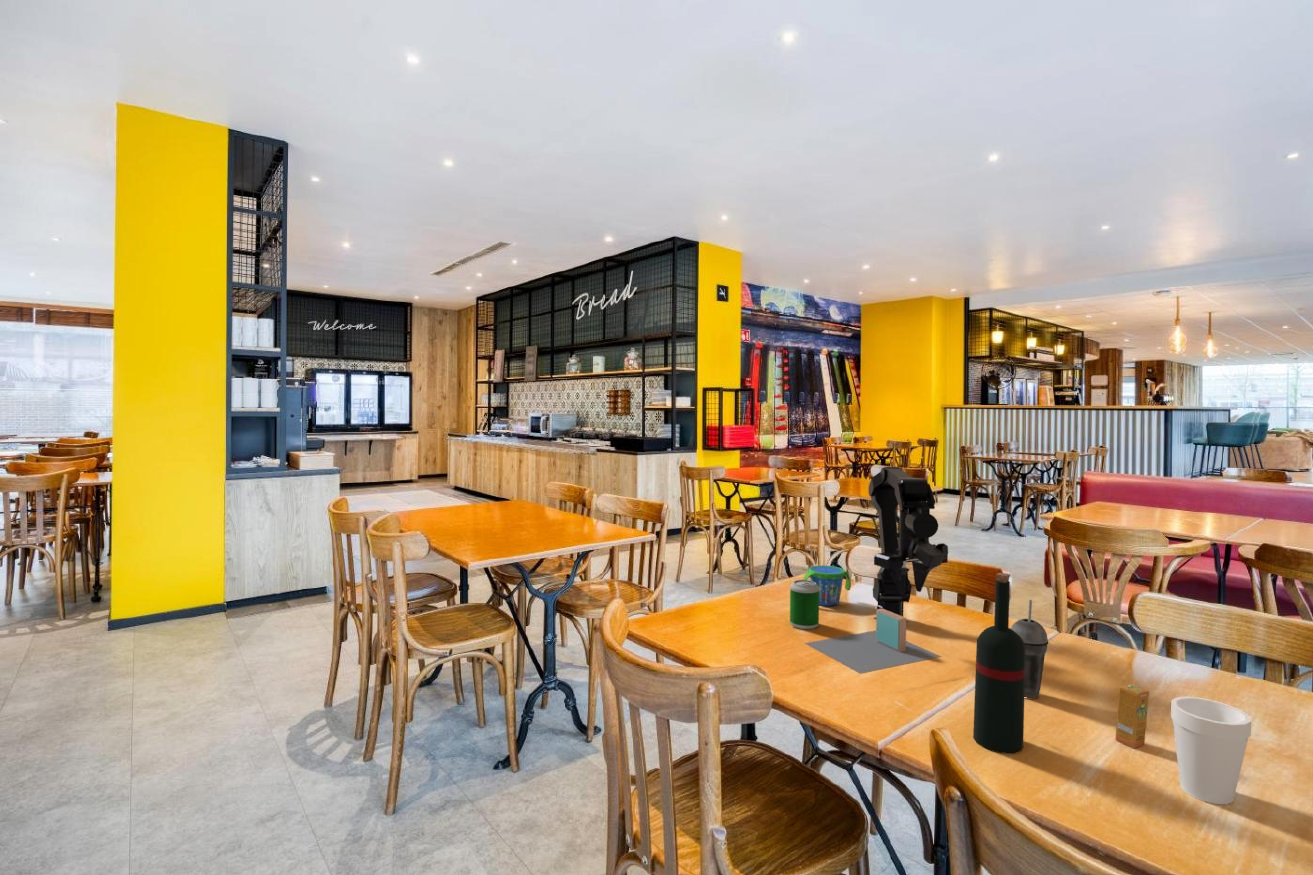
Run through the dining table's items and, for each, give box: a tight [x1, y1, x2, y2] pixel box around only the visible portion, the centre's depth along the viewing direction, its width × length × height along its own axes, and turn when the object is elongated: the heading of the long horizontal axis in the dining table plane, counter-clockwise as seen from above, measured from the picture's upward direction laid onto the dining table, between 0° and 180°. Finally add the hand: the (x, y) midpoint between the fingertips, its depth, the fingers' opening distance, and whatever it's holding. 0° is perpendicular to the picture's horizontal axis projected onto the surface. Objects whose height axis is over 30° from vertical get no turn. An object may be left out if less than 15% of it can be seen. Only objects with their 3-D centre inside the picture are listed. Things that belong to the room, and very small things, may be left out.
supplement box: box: [1115, 683, 1150, 749], centre depth 118 cm, size 3×3×10 cm
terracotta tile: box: [875, 608, 907, 652], centre depth 163 cm, size 2×8×8 cm, turn 24°
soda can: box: [789, 579, 820, 630], centre depth 178 cm, size 8×8×12 cm
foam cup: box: [1170, 696, 1252, 805], centre depth 103 cm, size 10×9×13 cm
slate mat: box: [804, 630, 942, 674], centre depth 161 cm, size 24×20×1 cm
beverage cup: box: [1009, 599, 1050, 699], centre depth 137 cm, size 7×7×20 cm
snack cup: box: [802, 564, 852, 607], centre depth 199 cm, size 16×10×10 cm
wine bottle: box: [972, 572, 1026, 755], centre depth 118 cm, size 8×10×30 cm
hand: (910, 592), depth 165 cm, fingers open, 5 cm apart
